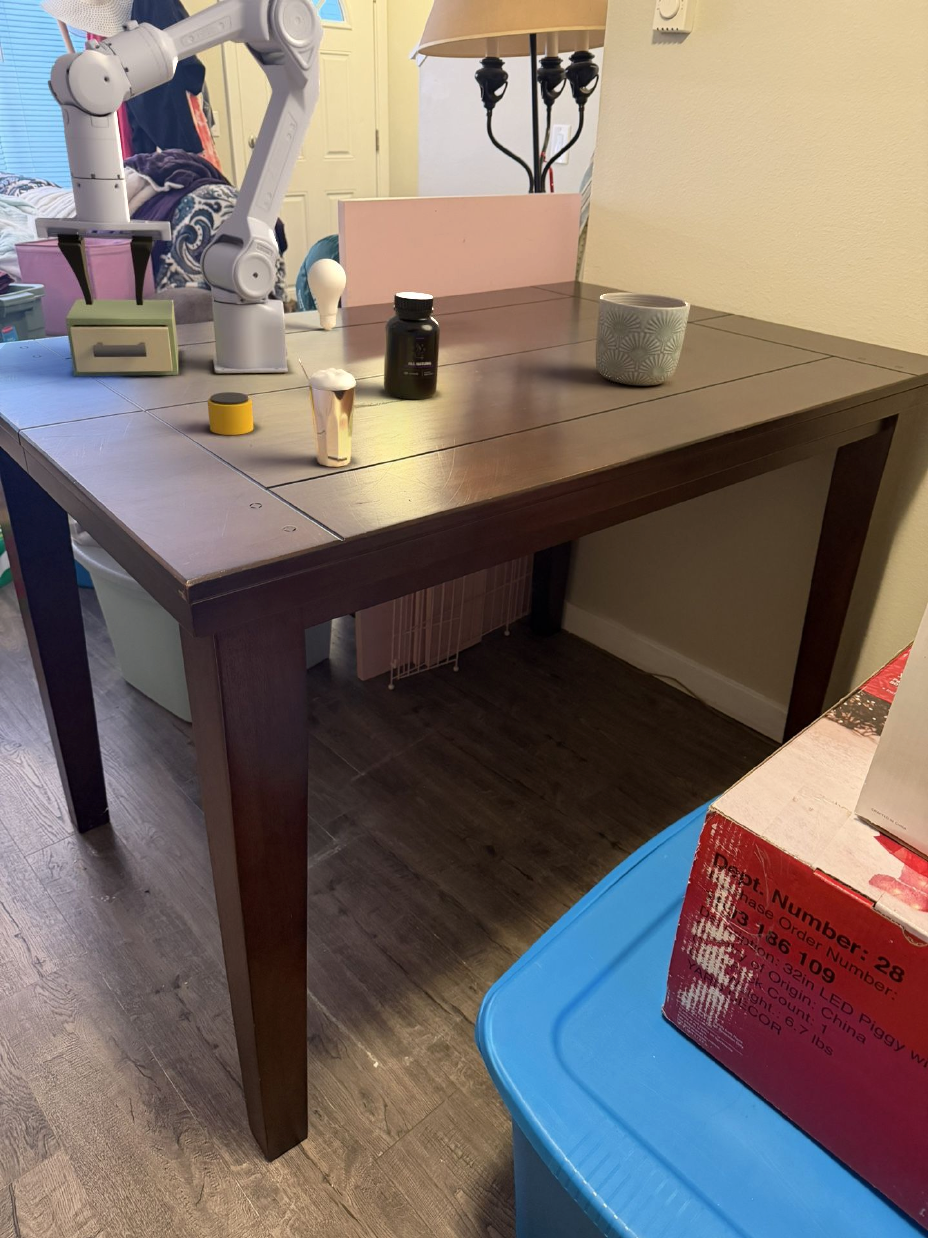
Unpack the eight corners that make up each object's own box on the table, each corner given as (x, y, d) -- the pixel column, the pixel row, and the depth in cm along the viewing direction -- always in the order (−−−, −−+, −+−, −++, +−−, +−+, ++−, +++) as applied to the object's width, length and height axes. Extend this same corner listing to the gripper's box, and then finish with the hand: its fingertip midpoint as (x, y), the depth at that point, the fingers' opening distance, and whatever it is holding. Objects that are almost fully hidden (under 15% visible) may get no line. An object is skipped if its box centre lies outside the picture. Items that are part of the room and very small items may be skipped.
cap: (252, 421, 98) (249, 390, 96) (254, 434, 94) (252, 402, 92) (209, 423, 97) (206, 391, 95) (210, 435, 93) (207, 403, 91)
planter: (573, 376, 125) (582, 296, 119) (621, 365, 133) (632, 289, 128) (646, 395, 118) (660, 311, 112) (692, 382, 126) (707, 302, 121)
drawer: (172, 379, 108) (167, 335, 106) (73, 380, 106) (66, 335, 103) (173, 349, 122) (168, 310, 120) (86, 349, 119) (79, 309, 117)
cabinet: (178, 374, 114) (172, 318, 111) (74, 376, 111) (65, 318, 107) (178, 351, 125) (172, 299, 122) (84, 352, 122) (76, 298, 119)
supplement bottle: (417, 403, 108) (420, 302, 102) (373, 393, 111) (373, 294, 105) (447, 392, 113) (451, 295, 107) (404, 383, 116) (406, 288, 110)
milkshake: (304, 453, 89) (300, 354, 85) (356, 454, 90) (356, 356, 85) (301, 468, 85) (297, 365, 81) (355, 469, 86) (355, 367, 81)
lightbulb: (339, 335, 141) (338, 262, 136) (304, 331, 142) (301, 259, 137) (351, 328, 146) (350, 258, 141) (316, 324, 147) (314, 254, 142)
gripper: (165, 178, 104) (178, 298, 110) (33, 172, 100) (54, 297, 107) (165, 182, 98) (177, 308, 105) (24, 176, 94) (46, 307, 101)
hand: (115, 303), depth 105 cm, fingers open, 5 cm apart
